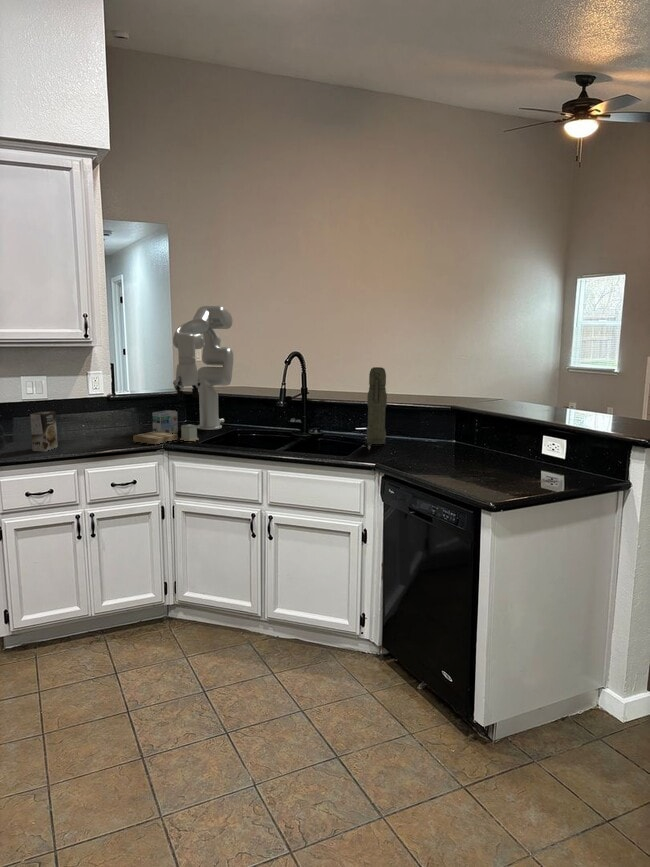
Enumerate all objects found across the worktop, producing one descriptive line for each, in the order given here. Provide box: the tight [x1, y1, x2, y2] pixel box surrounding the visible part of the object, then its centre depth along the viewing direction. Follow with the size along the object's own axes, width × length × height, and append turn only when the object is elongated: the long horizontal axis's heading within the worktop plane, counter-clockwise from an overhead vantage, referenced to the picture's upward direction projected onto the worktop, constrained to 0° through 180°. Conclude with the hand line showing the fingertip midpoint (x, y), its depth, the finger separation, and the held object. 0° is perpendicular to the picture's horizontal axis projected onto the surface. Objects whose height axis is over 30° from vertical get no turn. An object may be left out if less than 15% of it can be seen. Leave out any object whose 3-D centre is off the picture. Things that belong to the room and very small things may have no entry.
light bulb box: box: [151, 409, 179, 434], centre depth 316 cm, size 11×7×11 cm, turn 143°
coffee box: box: [30, 410, 58, 453], centre depth 276 cm, size 9×6×16 cm
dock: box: [132, 431, 179, 446], centre depth 297 cm, size 14×14×3 cm
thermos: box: [365, 366, 388, 445], centre depth 294 cm, size 9×12×35 cm
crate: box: [179, 423, 200, 442], centre depth 299 cm, size 6×6×7 cm
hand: (188, 398), depth 295 cm, fingers open, 9 cm apart
